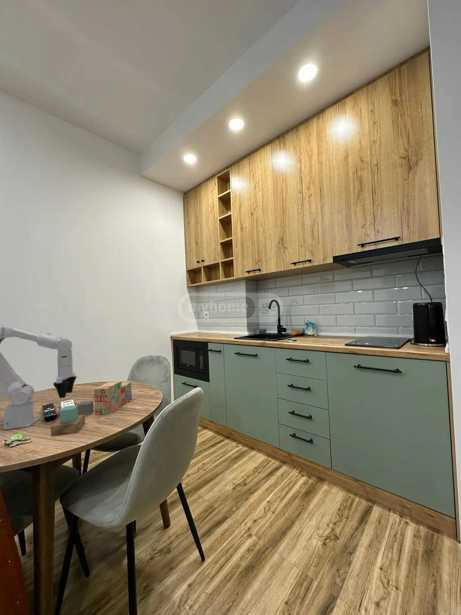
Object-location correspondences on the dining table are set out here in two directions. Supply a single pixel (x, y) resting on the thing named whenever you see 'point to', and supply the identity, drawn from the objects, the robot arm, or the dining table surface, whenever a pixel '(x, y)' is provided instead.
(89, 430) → the dining table surface
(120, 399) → the stack of blocks
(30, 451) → the dining table surface
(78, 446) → the dining table surface
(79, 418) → the walnut block
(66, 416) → the teal cube
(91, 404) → the charcoal cube
